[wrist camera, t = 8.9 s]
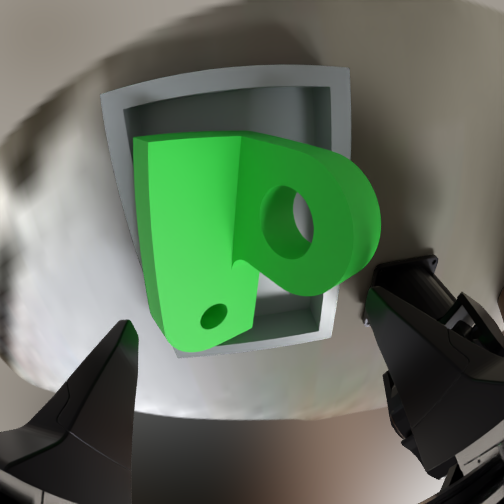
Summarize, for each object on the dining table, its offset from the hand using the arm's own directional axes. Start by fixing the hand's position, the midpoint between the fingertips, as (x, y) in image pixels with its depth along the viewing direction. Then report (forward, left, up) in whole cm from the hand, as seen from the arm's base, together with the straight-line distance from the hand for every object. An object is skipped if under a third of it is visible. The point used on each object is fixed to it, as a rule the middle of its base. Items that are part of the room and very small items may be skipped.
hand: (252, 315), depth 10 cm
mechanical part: (+2, 0, -6) cm, 6 cm away
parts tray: (0, 0, -8) cm, 8 cm away
